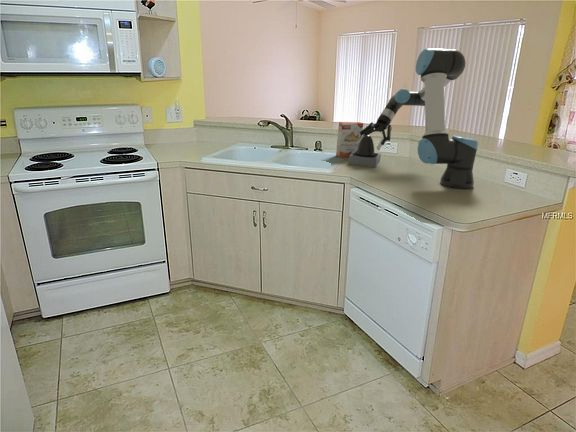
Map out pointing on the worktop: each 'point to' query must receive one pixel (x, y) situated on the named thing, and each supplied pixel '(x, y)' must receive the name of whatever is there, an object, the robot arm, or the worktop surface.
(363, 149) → the dark rounded piece
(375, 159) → the drying tray
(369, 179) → the worktop surface
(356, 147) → the cracker box
